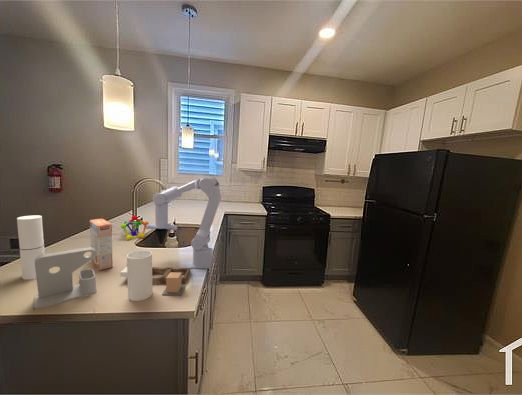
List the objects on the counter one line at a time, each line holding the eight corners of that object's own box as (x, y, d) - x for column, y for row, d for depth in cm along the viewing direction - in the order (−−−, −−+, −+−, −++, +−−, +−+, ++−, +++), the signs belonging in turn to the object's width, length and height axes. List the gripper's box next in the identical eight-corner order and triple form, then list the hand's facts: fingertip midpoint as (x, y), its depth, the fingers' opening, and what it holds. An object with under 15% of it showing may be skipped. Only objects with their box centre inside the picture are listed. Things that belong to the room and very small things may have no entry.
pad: (185, 285, 95) (185, 284, 95) (180, 295, 88) (180, 294, 88) (167, 285, 95) (167, 284, 95) (162, 295, 88) (162, 294, 88)
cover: (151, 267, 104) (151, 263, 104) (143, 277, 96) (143, 272, 95) (131, 267, 104) (130, 262, 103) (120, 276, 95) (120, 272, 95)
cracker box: (113, 267, 108) (112, 223, 105) (98, 271, 104) (96, 225, 101) (105, 258, 117) (103, 217, 115) (90, 261, 113) (88, 219, 110)
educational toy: (140, 234, 160) (142, 213, 159) (148, 239, 152) (150, 216, 150) (115, 236, 149) (117, 213, 148) (122, 242, 140) (124, 217, 139)
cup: (134, 288, 91) (133, 249, 89) (155, 288, 92) (155, 250, 90) (123, 301, 83) (122, 258, 81) (147, 301, 84) (146, 258, 82)
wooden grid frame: (190, 272, 107) (190, 267, 106) (185, 284, 97) (185, 278, 96) (150, 272, 105) (150, 267, 105) (140, 283, 95) (140, 277, 95)
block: (181, 286, 94) (181, 272, 93) (178, 292, 90) (178, 277, 89) (170, 286, 94) (170, 272, 93) (166, 292, 89) (166, 277, 88)
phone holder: (94, 282, 95) (92, 239, 92) (98, 293, 87) (95, 247, 85) (35, 296, 83) (31, 248, 81) (33, 310, 76) (28, 257, 73)
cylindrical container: (19, 281, 92) (13, 219, 89) (26, 273, 99) (21, 215, 95) (42, 277, 96) (38, 218, 92) (48, 270, 102) (44, 214, 98)
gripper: (178, 215, 119) (178, 240, 121) (149, 214, 118) (150, 240, 120) (174, 218, 112) (174, 245, 114) (143, 217, 111) (144, 244, 113)
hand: (161, 243), depth 116 cm, fingers closed
